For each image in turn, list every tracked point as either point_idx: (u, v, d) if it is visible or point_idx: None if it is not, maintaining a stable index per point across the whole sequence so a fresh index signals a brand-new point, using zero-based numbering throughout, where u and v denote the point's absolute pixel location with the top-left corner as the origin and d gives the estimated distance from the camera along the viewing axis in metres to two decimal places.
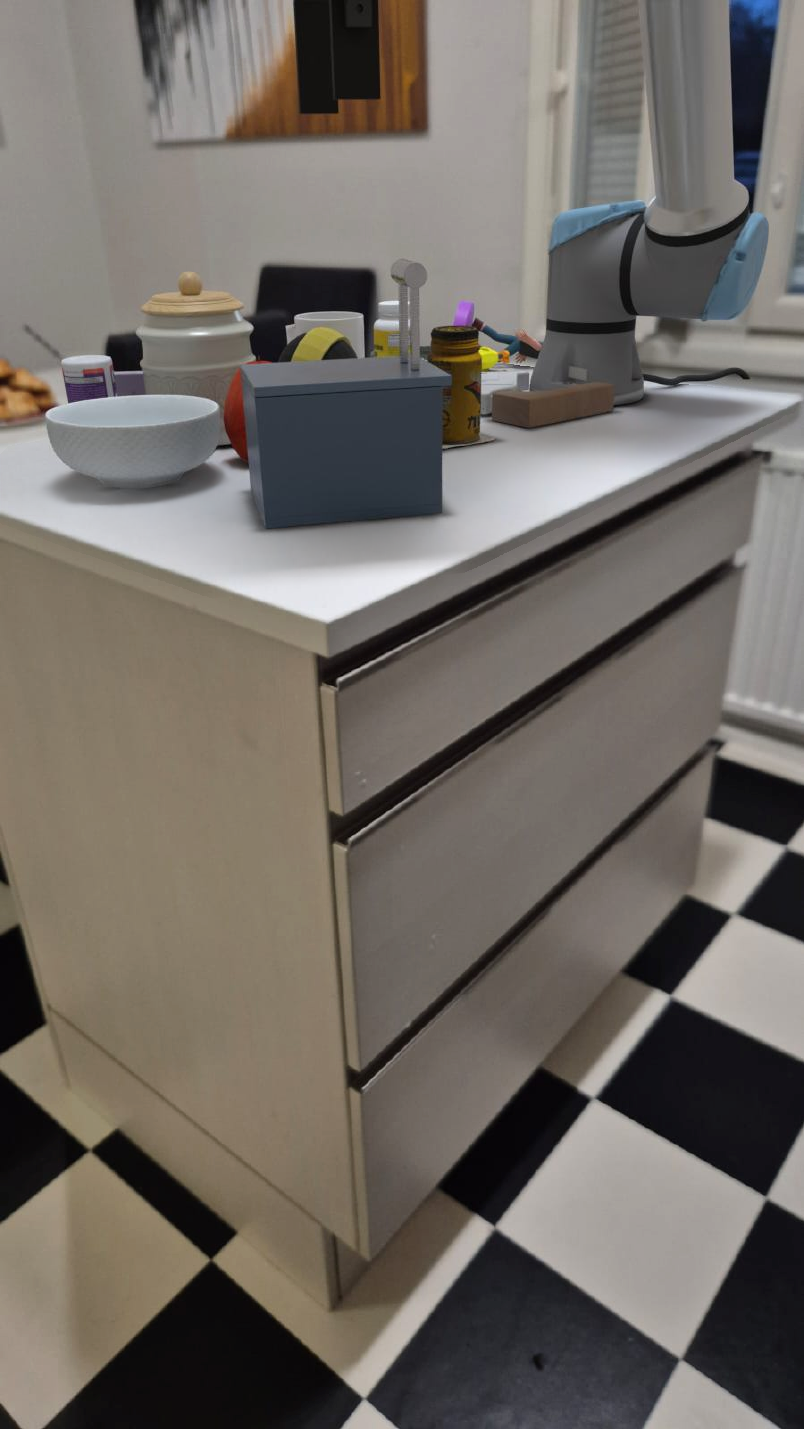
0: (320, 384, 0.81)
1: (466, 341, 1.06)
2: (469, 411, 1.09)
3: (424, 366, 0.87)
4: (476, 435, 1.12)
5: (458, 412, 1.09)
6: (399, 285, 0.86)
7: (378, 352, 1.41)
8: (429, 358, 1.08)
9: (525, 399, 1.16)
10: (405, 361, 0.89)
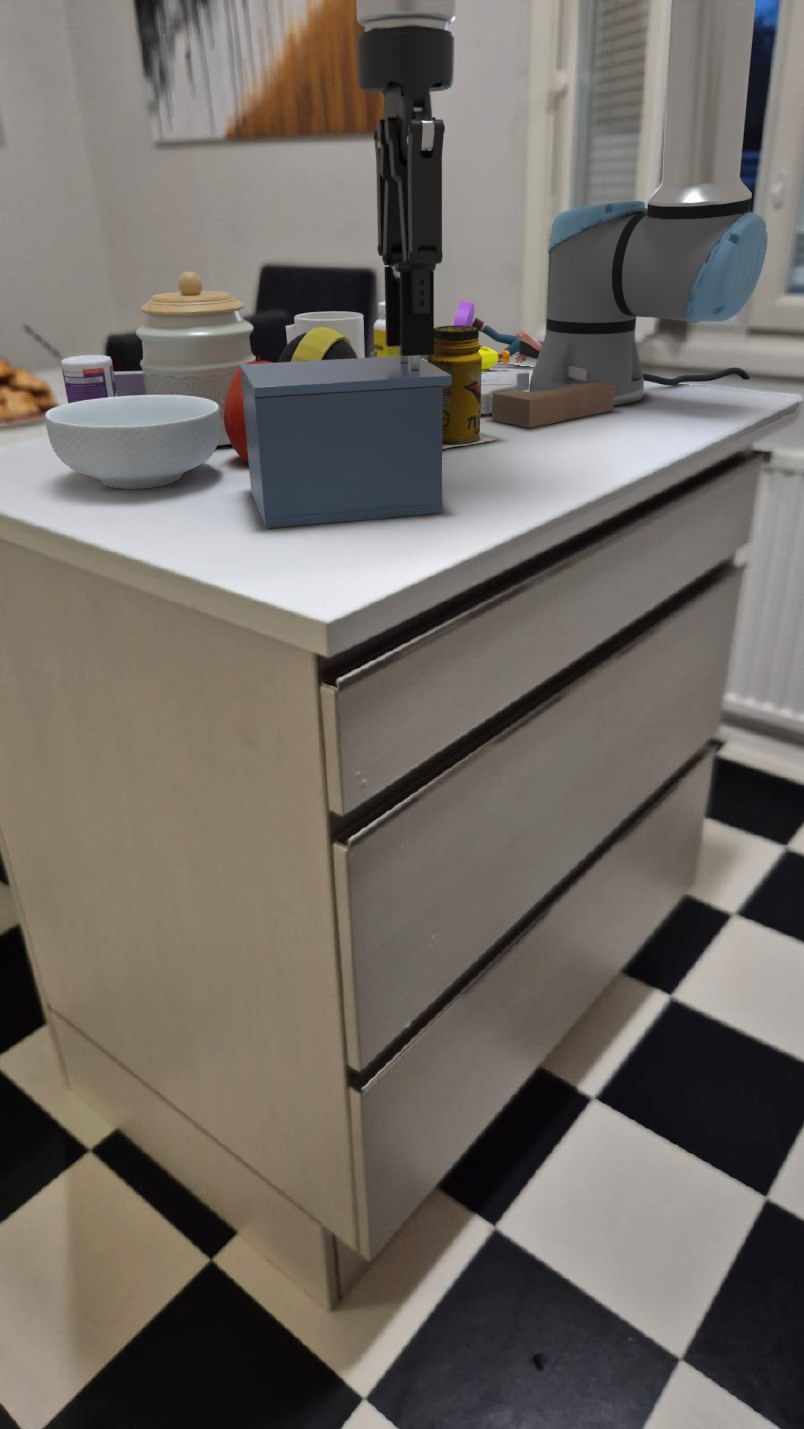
0: (320, 384, 0.81)
1: (466, 341, 1.06)
2: (469, 411, 1.09)
3: (424, 366, 0.87)
4: (476, 435, 1.12)
5: (458, 412, 1.09)
6: (399, 285, 0.86)
7: (378, 352, 1.41)
8: (429, 358, 1.08)
9: (525, 399, 1.16)
10: (405, 361, 0.89)
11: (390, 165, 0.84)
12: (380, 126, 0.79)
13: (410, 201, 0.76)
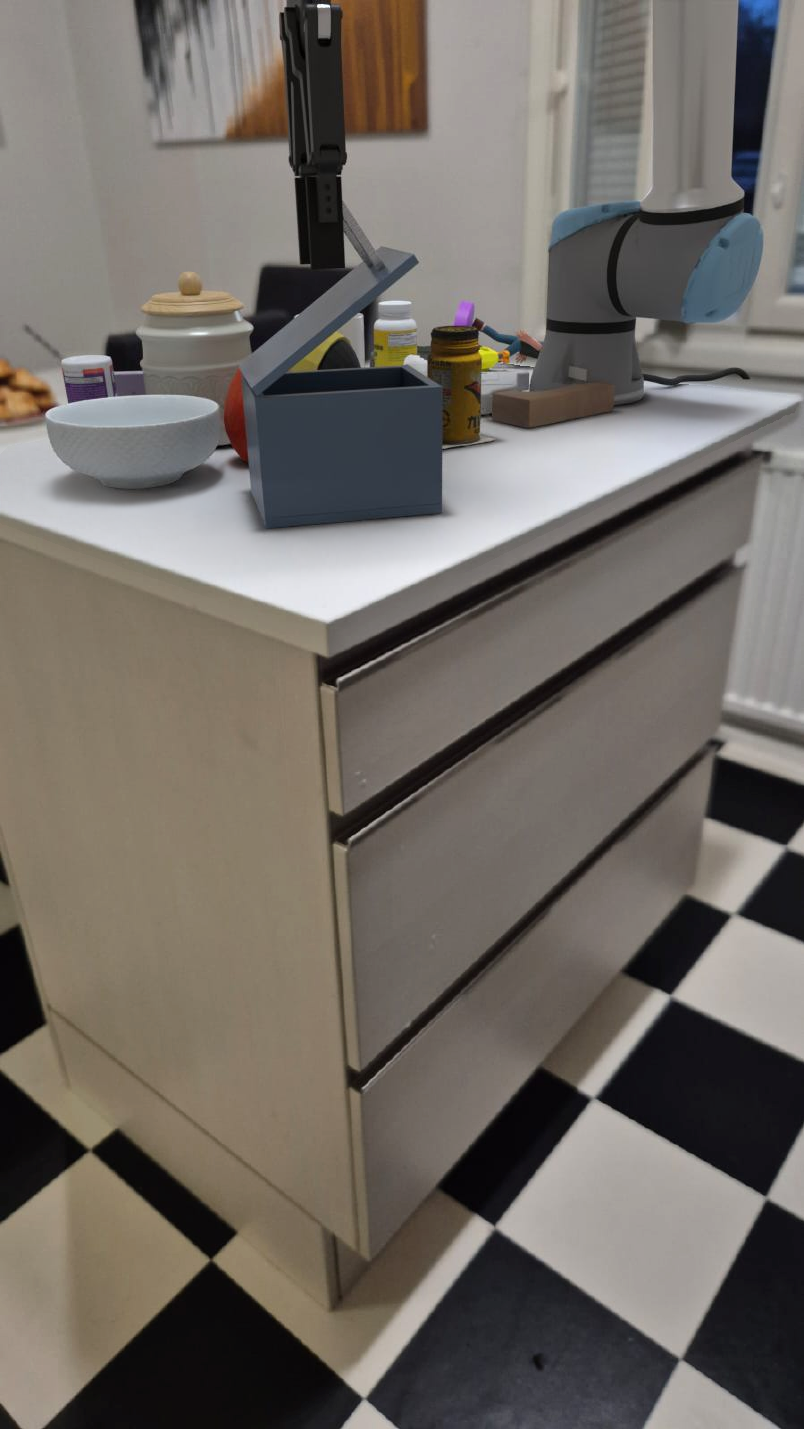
0: (304, 345, 0.79)
1: (466, 341, 1.06)
2: (469, 411, 1.09)
3: (389, 257, 0.82)
4: (476, 435, 1.12)
5: (458, 412, 1.09)
6: None
7: (378, 352, 1.41)
8: (429, 358, 1.08)
9: (525, 399, 1.16)
10: (371, 263, 0.84)
11: None
12: (281, 19, 0.74)
13: (309, 95, 0.71)
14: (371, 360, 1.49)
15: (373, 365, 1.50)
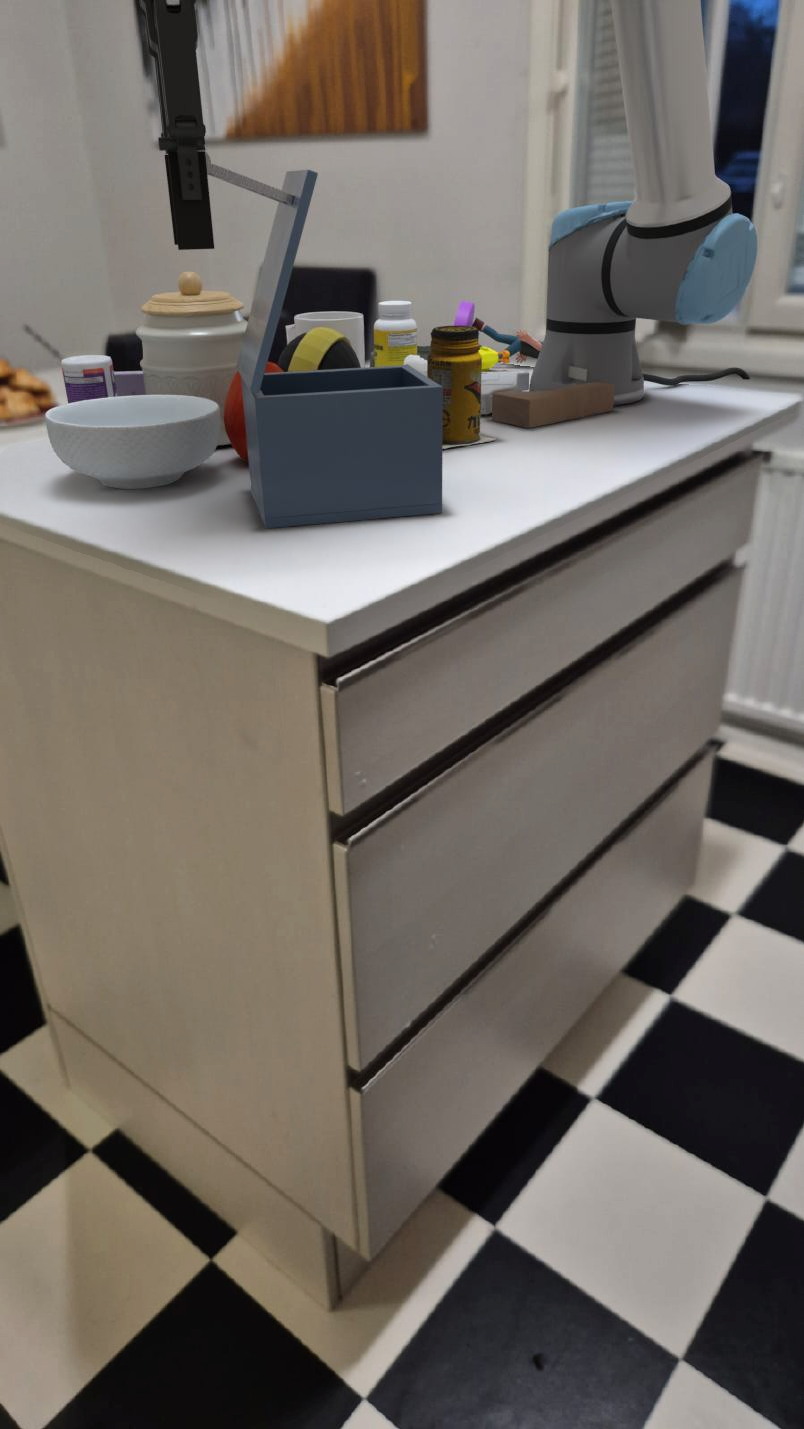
0: (268, 322, 0.78)
1: (466, 341, 1.06)
2: (469, 411, 1.09)
3: (294, 183, 0.78)
4: (476, 435, 1.12)
5: (458, 412, 1.09)
6: (207, 174, 0.79)
7: (378, 352, 1.41)
8: (429, 358, 1.08)
9: (525, 399, 1.16)
10: None
11: None
12: None
13: (161, 64, 0.68)
14: (371, 360, 1.49)
15: (373, 365, 1.50)
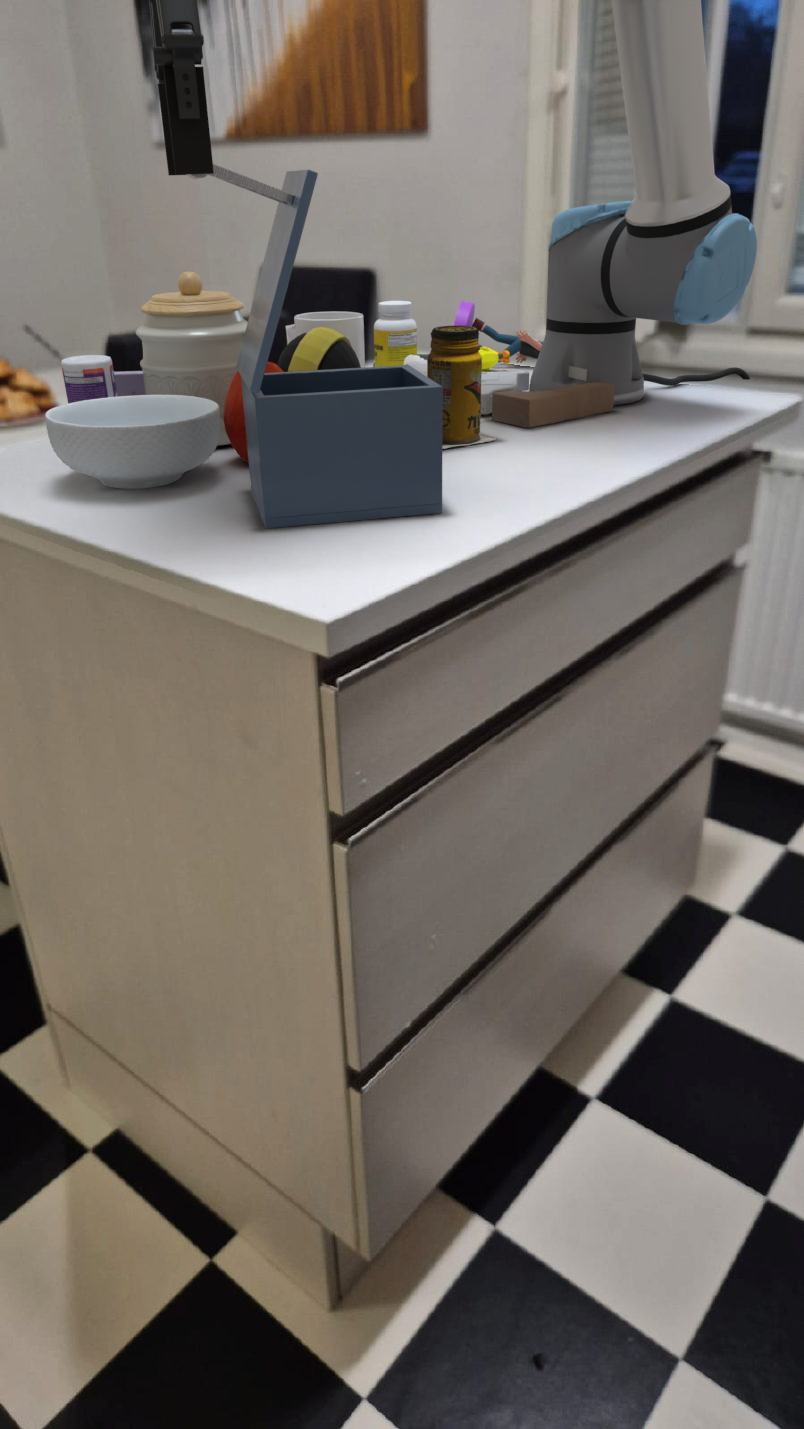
0: (268, 322, 0.78)
1: (466, 341, 1.06)
2: (469, 411, 1.09)
3: (294, 183, 0.78)
4: (476, 435, 1.12)
5: (458, 412, 1.09)
6: (207, 174, 0.79)
7: (378, 352, 1.41)
8: (429, 358, 1.08)
9: (525, 399, 1.16)
10: None
11: None
12: None
13: None
14: (374, 364, 1.51)
15: None
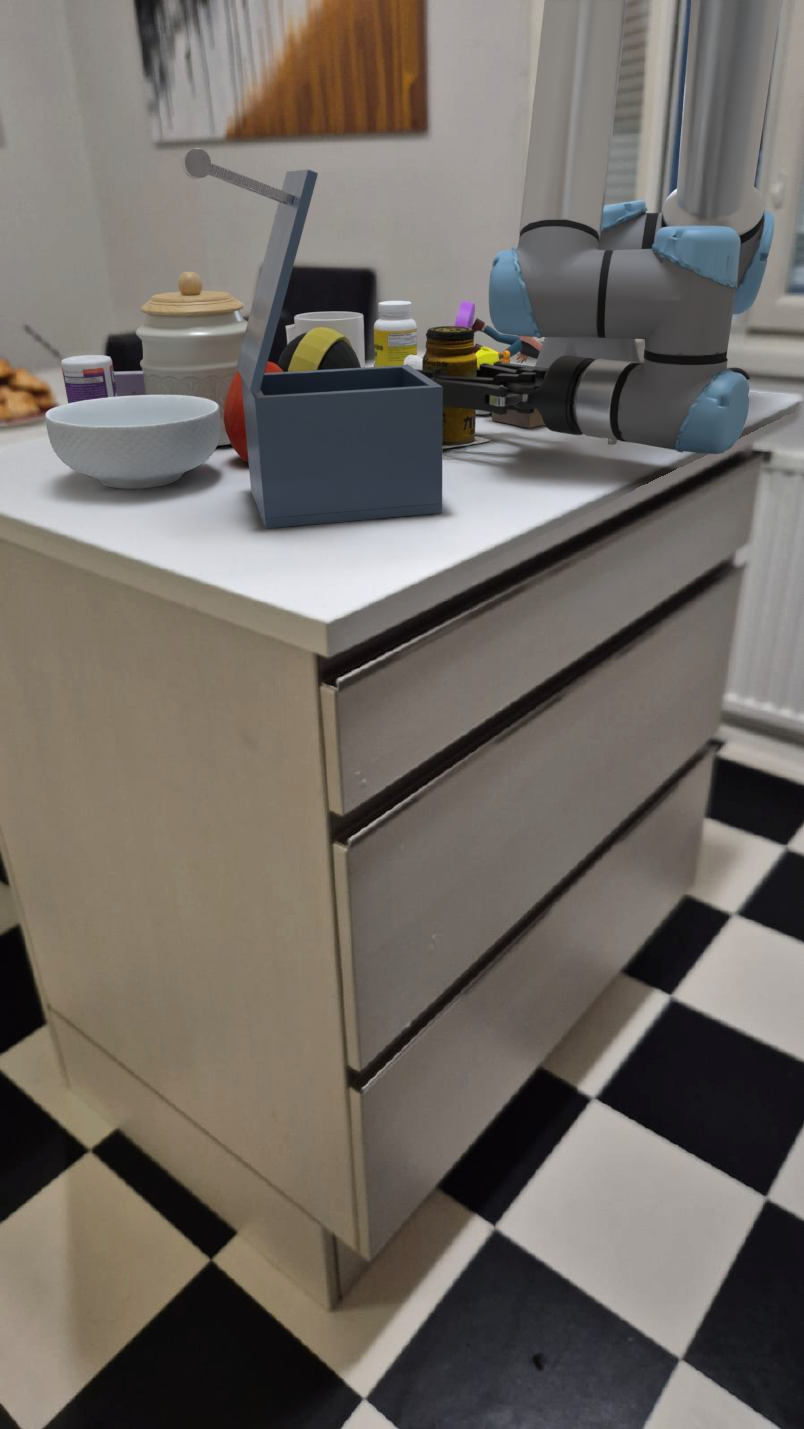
0: (268, 322, 0.78)
1: (462, 342, 1.06)
2: (465, 411, 1.09)
3: (294, 183, 0.78)
4: (472, 436, 1.11)
5: (454, 413, 1.09)
6: None
7: (378, 352, 1.41)
8: (425, 359, 1.08)
9: None
10: None
11: None
12: None
13: None
14: None
15: None
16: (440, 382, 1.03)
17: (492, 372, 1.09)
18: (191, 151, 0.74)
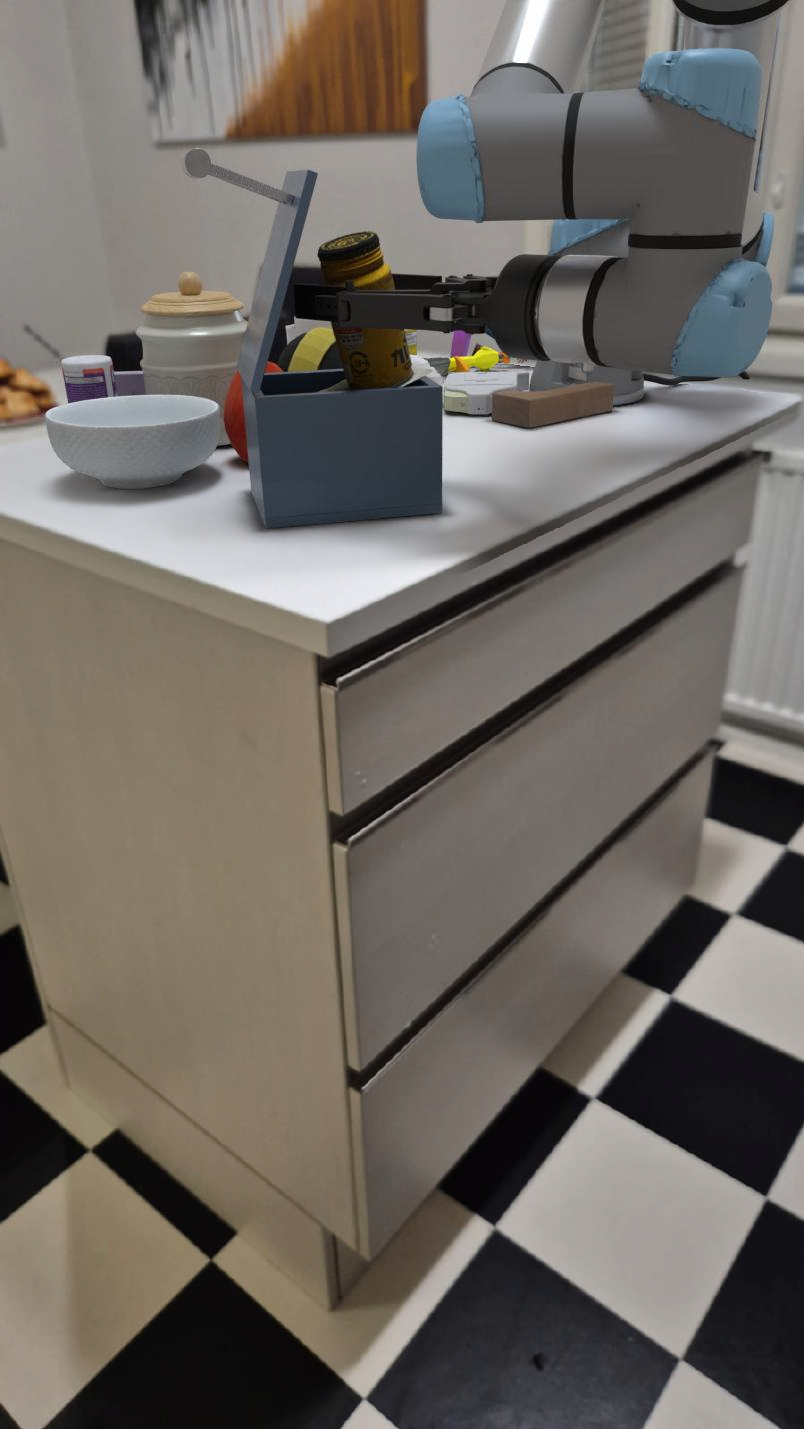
0: (268, 322, 0.78)
1: (364, 256, 0.80)
2: (391, 344, 0.84)
3: (294, 183, 0.78)
4: (408, 371, 0.86)
5: (376, 351, 0.84)
6: None
7: None
8: None
9: (525, 399, 1.16)
10: None
11: None
12: None
13: None
14: None
15: None
16: (356, 295, 0.76)
17: None
18: (191, 151, 0.74)
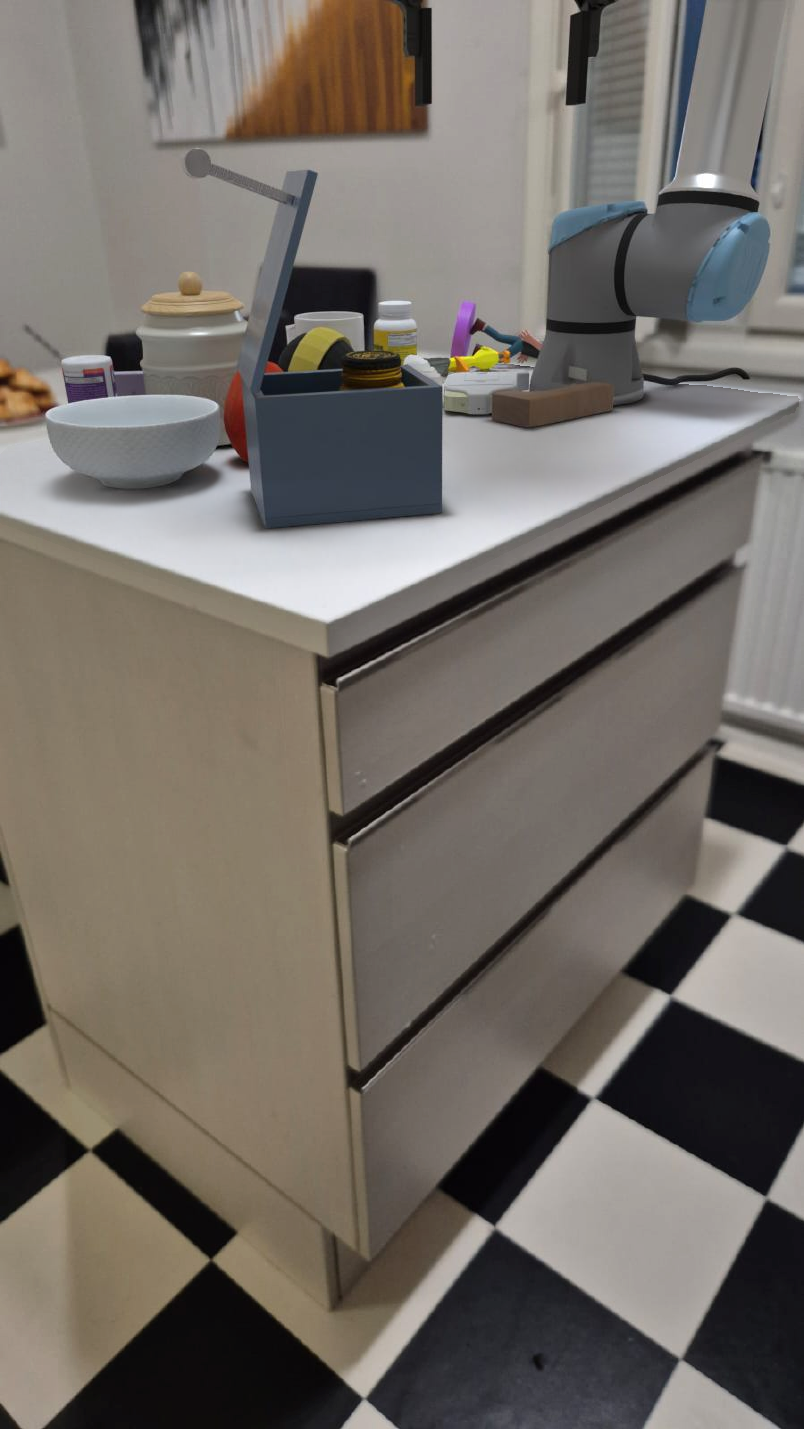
0: (268, 322, 0.78)
1: (377, 371, 0.85)
2: None
3: (294, 183, 0.78)
4: None
5: None
6: None
7: None
8: (339, 389, 0.88)
9: (525, 399, 1.16)
10: None
11: None
12: None
13: None
14: None
15: None
16: None
17: None
18: (191, 151, 0.74)
